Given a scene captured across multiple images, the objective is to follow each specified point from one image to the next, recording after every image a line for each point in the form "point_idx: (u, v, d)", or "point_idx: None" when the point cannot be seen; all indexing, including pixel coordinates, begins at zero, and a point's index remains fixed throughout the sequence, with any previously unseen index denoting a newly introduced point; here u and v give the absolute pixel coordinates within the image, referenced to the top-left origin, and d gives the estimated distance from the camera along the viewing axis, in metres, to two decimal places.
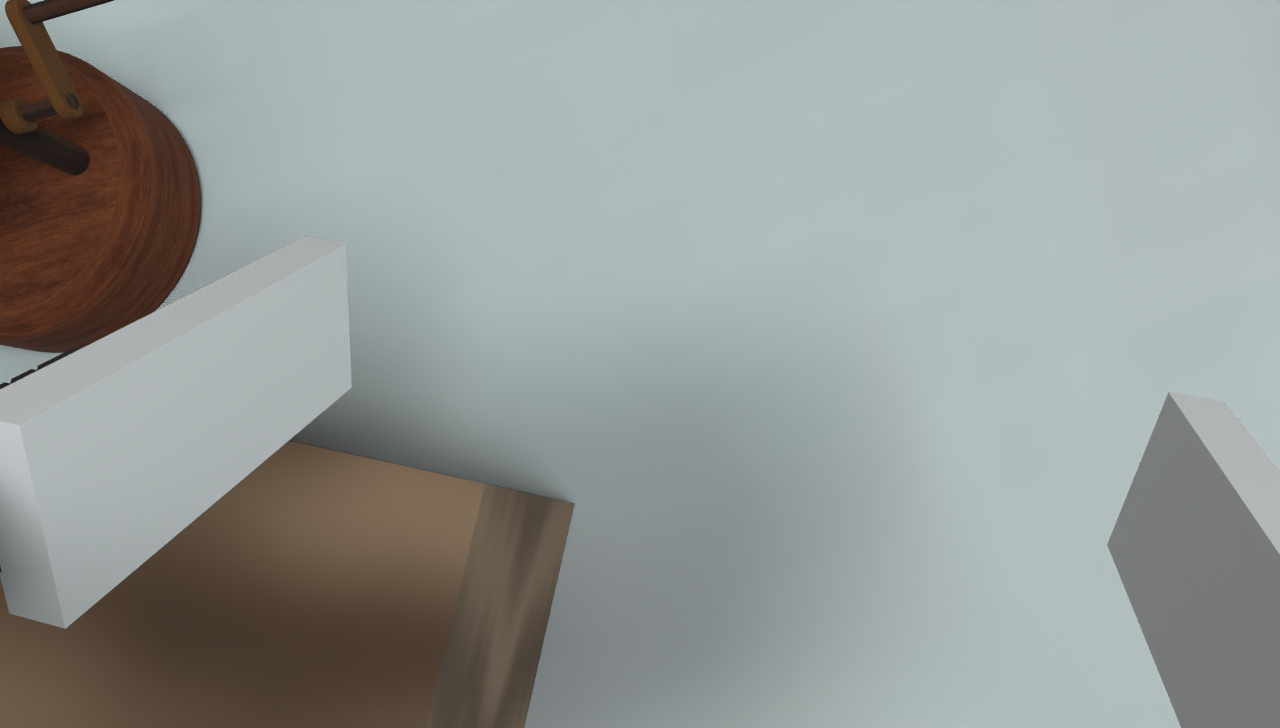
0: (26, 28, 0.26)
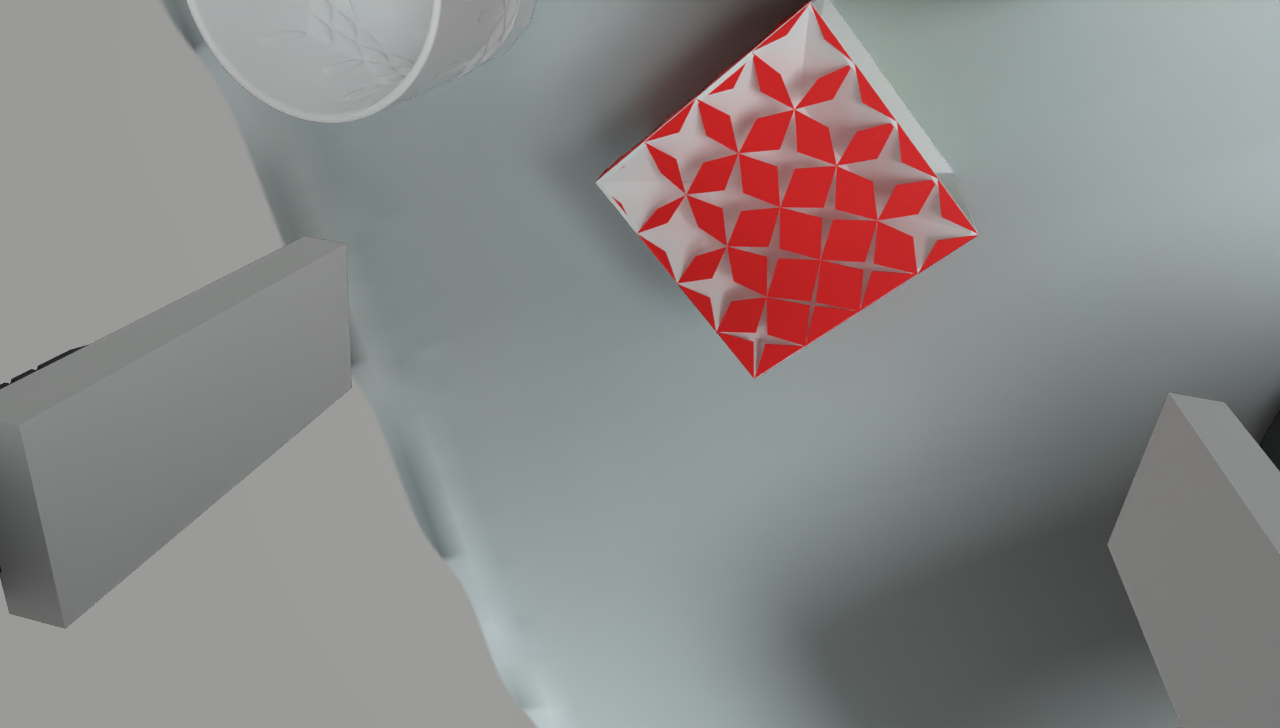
0: None
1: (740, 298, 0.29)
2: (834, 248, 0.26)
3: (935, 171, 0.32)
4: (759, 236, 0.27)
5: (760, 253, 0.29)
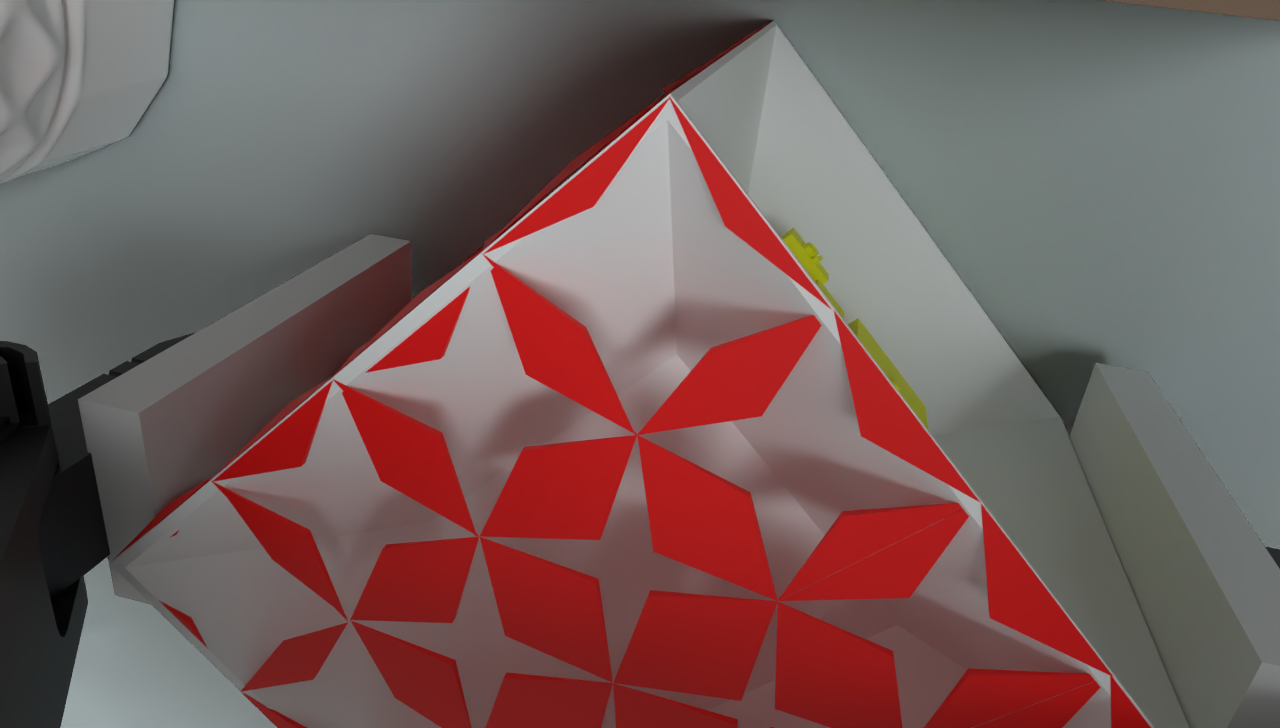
0: None
1: None
2: None
3: (1020, 419, 0.14)
4: None
5: None
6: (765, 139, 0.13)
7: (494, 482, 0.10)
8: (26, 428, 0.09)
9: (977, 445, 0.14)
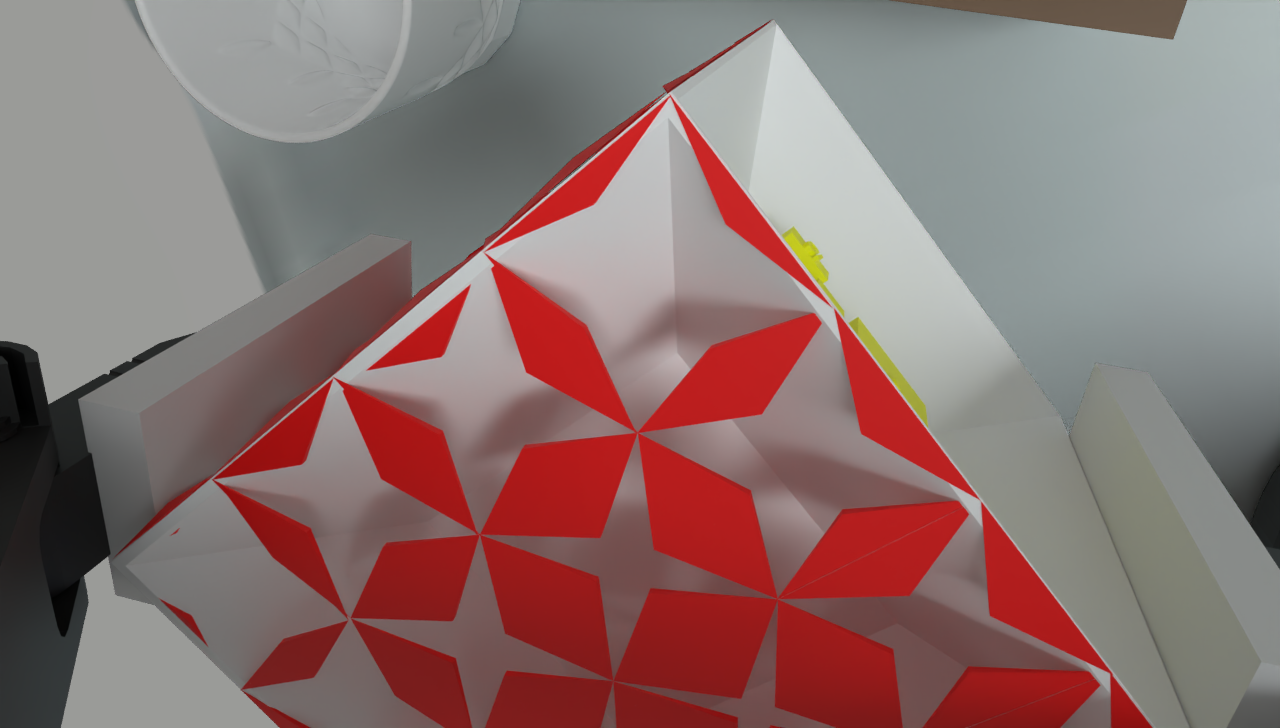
0: None
1: None
2: None
3: (1020, 418, 0.14)
4: None
5: None
6: (765, 138, 0.13)
7: (494, 480, 0.10)
8: (26, 428, 0.09)
9: (977, 444, 0.14)
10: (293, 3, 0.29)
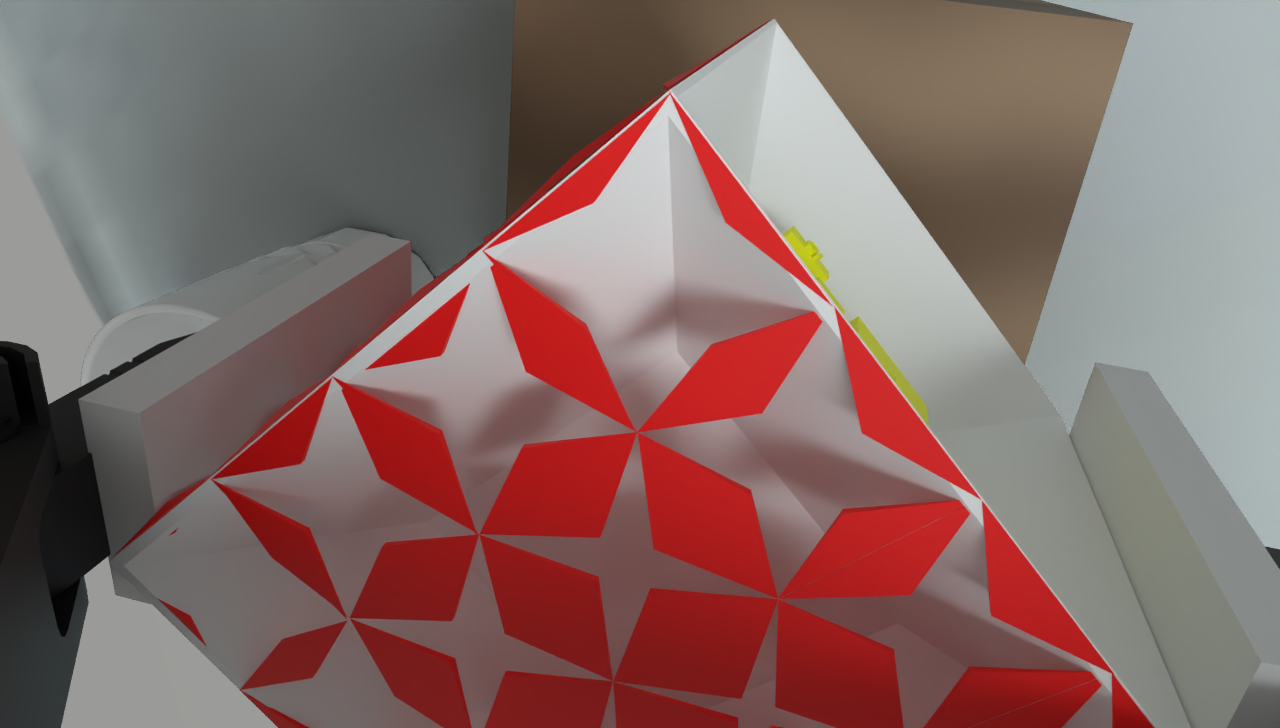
0: None
1: None
2: None
3: (1020, 417, 0.14)
4: None
5: None
6: (765, 137, 0.13)
7: (494, 480, 0.10)
8: (27, 428, 0.09)
9: (977, 443, 0.14)
10: None
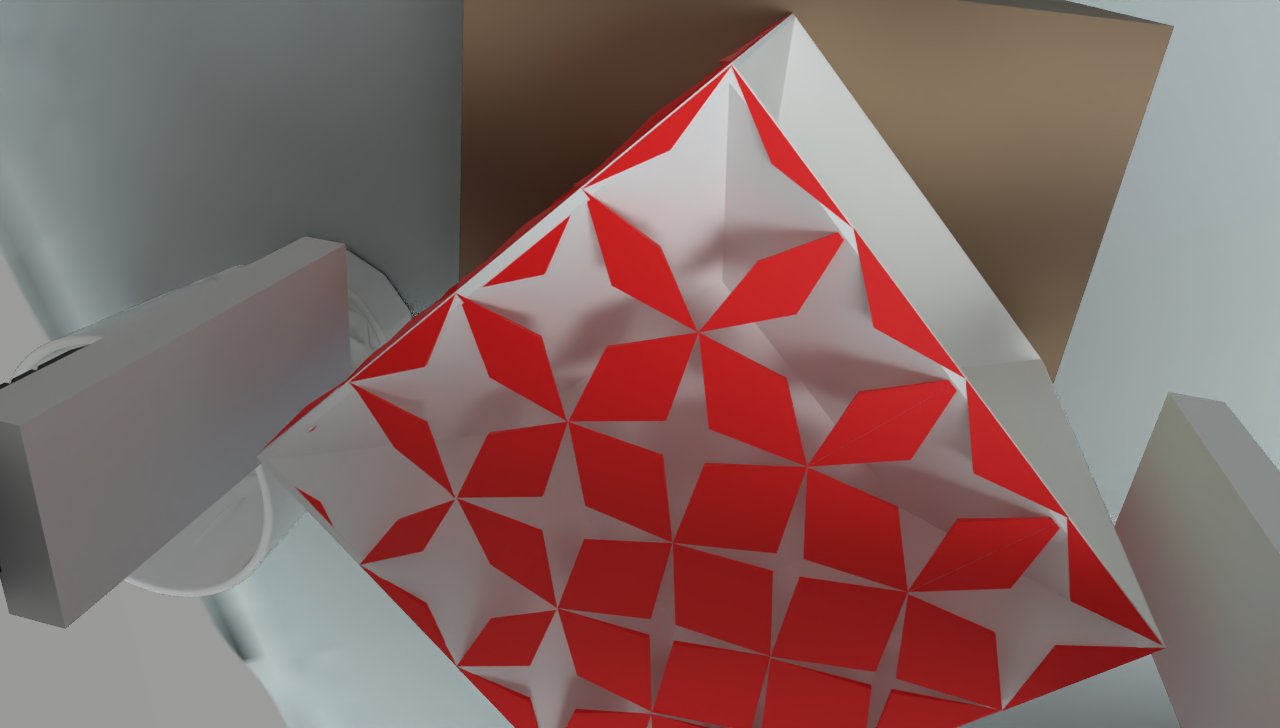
0: None
1: None
2: (802, 637, 0.11)
3: (1006, 360, 0.17)
4: (628, 597, 0.11)
5: None
6: (786, 114, 0.15)
7: (566, 394, 0.12)
8: None
9: (968, 379, 0.16)
10: None
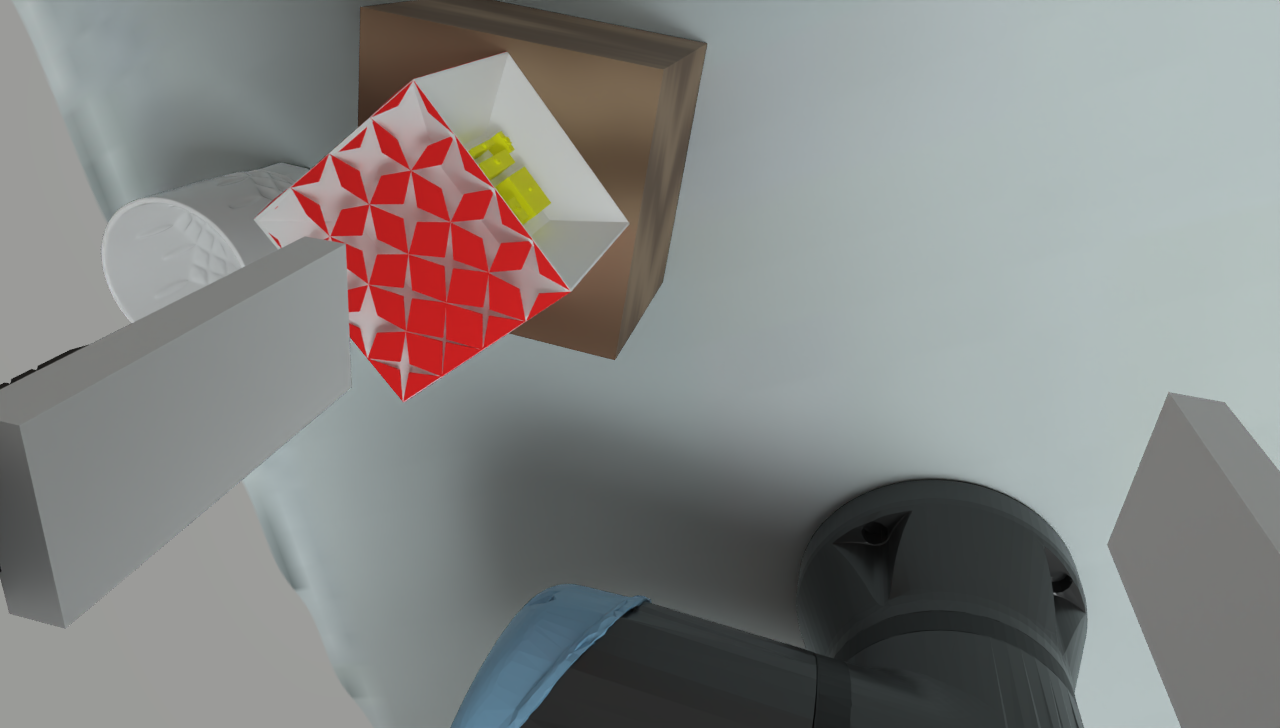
0: None
1: (393, 329, 0.32)
2: (456, 293, 0.30)
3: (608, 220, 0.35)
4: (394, 278, 0.30)
5: None
6: (499, 98, 0.34)
7: (380, 205, 0.31)
8: None
9: (581, 225, 0.34)
10: (204, 250, 0.48)
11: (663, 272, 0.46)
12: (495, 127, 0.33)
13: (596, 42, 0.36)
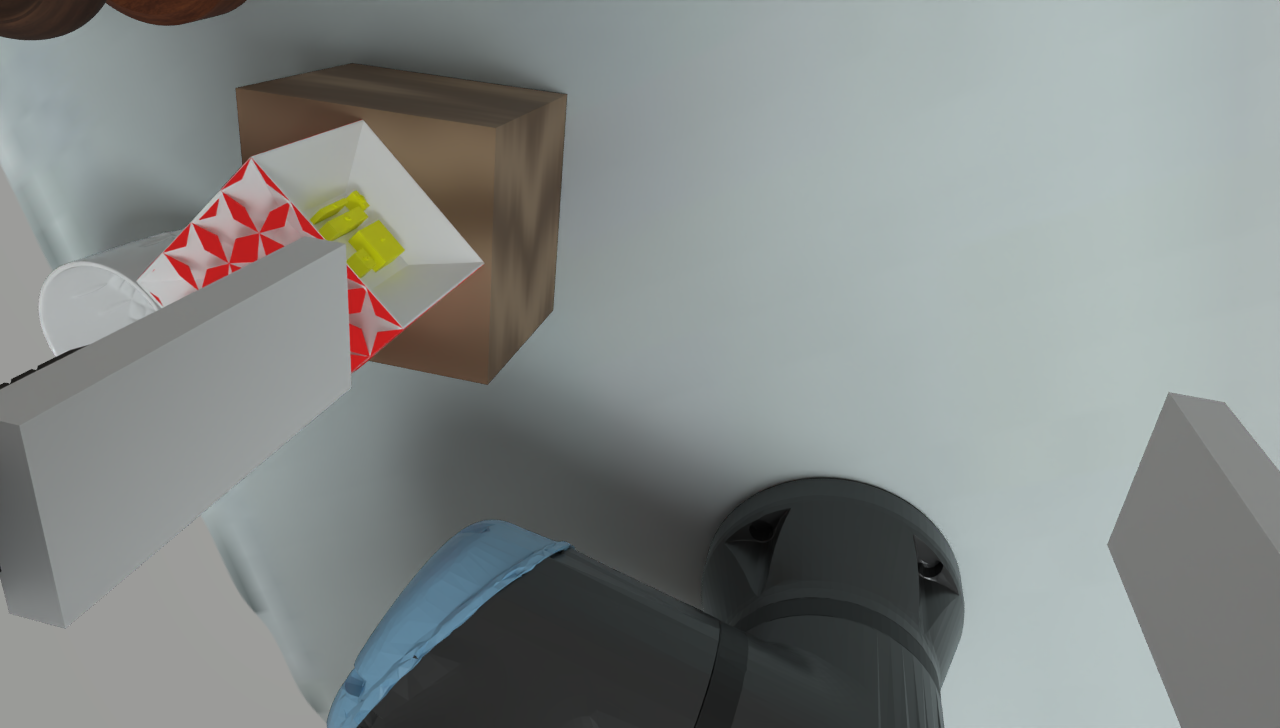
0: None
1: None
2: None
3: (463, 261, 0.40)
4: None
5: None
6: (356, 160, 0.38)
7: (246, 262, 0.35)
8: None
9: (436, 267, 0.39)
10: (140, 304, 0.53)
11: (551, 301, 0.51)
12: (354, 186, 0.38)
13: (449, 104, 0.41)
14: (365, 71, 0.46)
